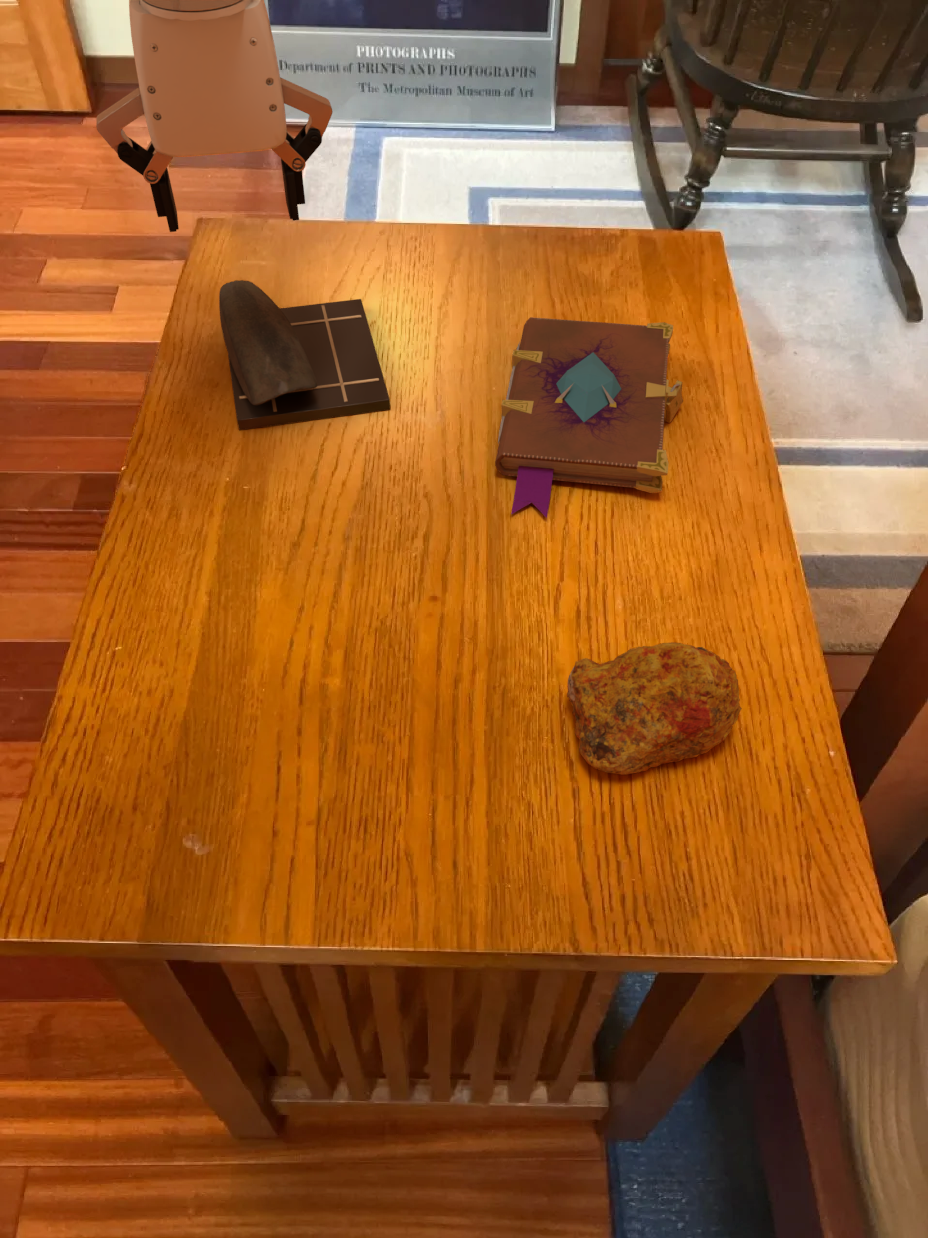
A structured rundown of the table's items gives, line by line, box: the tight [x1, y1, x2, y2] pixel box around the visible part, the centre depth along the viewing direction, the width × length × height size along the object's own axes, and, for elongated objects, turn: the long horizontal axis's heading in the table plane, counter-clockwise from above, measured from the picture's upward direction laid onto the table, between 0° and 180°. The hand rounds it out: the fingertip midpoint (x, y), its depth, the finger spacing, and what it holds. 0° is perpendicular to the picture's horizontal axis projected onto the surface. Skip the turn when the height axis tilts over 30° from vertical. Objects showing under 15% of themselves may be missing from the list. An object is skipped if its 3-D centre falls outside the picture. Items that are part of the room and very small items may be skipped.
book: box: [494, 317, 684, 519], centre depth 84 cm, size 16×25×5 cm, turn 171°
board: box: [227, 298, 391, 431], centre depth 90 cm, size 14×16×1 cm
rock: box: [566, 641, 743, 776], centre depth 65 cm, size 11×8×10 cm
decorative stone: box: [218, 279, 318, 405], centre depth 87 cm, size 17×6×4 cm, turn 24°
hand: (233, 217), depth 76 cm, fingers open, 9 cm apart
